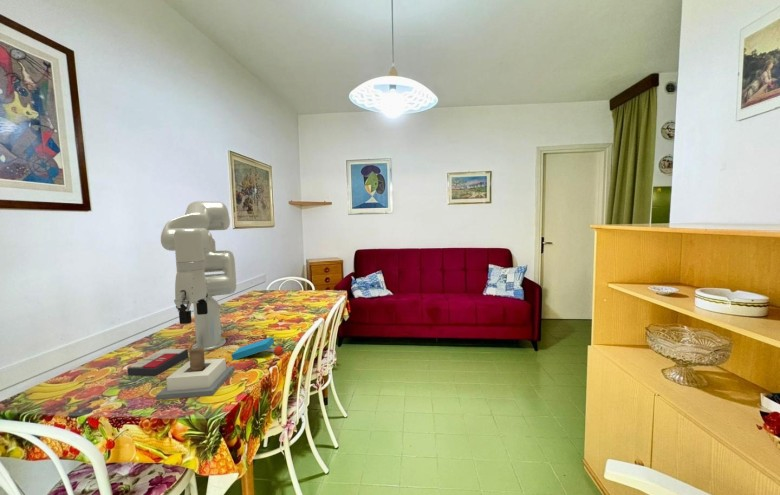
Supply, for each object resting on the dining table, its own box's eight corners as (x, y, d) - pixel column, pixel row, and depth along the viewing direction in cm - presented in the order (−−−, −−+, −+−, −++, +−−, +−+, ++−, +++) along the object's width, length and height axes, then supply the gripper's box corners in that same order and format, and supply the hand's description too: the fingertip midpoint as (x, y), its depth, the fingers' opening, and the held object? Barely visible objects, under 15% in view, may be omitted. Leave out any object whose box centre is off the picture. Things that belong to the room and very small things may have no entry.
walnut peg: (195, 376, 97) (193, 347, 97) (208, 376, 98) (206, 347, 97) (188, 383, 93) (186, 352, 93) (201, 382, 94) (199, 352, 93)
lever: (237, 371, 114) (281, 356, 114) (231, 354, 113) (275, 340, 114) (244, 363, 120) (286, 349, 121) (239, 347, 120) (280, 334, 121)
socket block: (187, 373, 103) (186, 358, 102) (234, 370, 104) (233, 355, 104) (156, 399, 87) (154, 382, 86) (212, 395, 89) (211, 377, 88)
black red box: (126, 366, 102) (162, 347, 117) (127, 378, 103) (163, 357, 118) (155, 366, 102) (187, 347, 116) (156, 378, 102) (188, 357, 117)
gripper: (193, 264, 101) (196, 311, 103) (160, 271, 84) (164, 328, 85) (216, 263, 102) (219, 310, 103) (187, 270, 85) (191, 326, 86)
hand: (194, 318), depth 94 cm, fingers open, 9 cm apart
